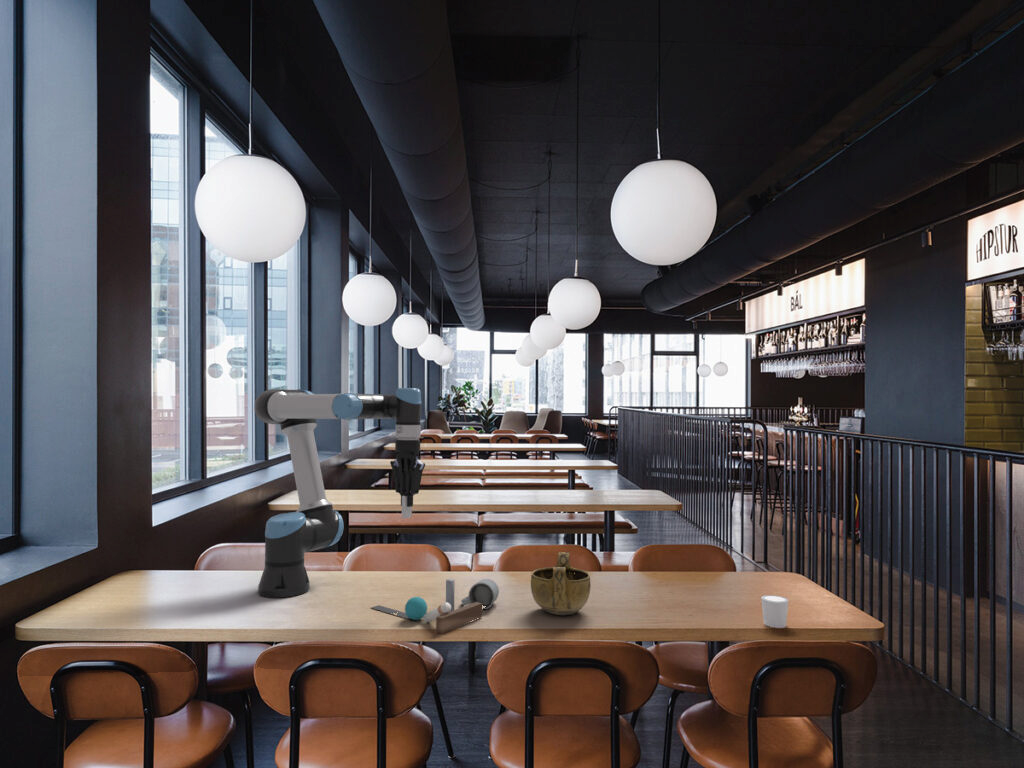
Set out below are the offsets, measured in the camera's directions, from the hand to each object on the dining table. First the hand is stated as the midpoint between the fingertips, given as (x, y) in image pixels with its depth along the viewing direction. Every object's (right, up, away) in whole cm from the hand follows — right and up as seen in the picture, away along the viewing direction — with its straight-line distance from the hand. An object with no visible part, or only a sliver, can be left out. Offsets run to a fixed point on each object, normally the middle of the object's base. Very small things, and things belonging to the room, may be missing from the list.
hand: (406, 517), depth 196 cm
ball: (+6, -21, -19) cm, 29 cm away
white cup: (+103, -25, -20) cm, 108 cm away
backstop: (+18, -24, -23) cm, 38 cm away
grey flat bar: (-1, -24, -14) cm, 28 cm away
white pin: (+9, -23, -21) cm, 33 cm away
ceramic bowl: (+45, -25, -12) cm, 53 cm away
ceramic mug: (+22, -25, -7) cm, 34 cm away
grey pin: (+14, -24, -13) cm, 31 cm away
